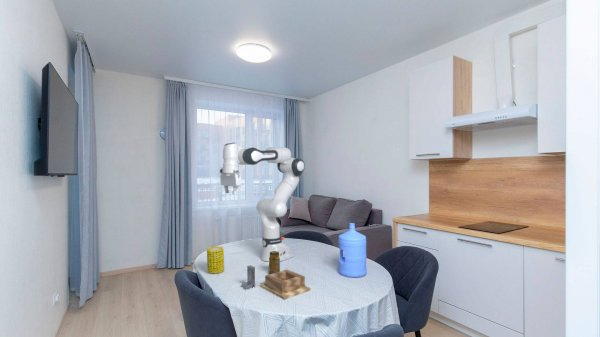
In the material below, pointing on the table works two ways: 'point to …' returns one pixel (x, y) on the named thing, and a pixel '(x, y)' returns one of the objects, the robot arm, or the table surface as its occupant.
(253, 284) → the bracket
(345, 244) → the water jug
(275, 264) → the condiment
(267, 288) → the box
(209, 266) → the food
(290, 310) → the table surface
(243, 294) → the table surface
